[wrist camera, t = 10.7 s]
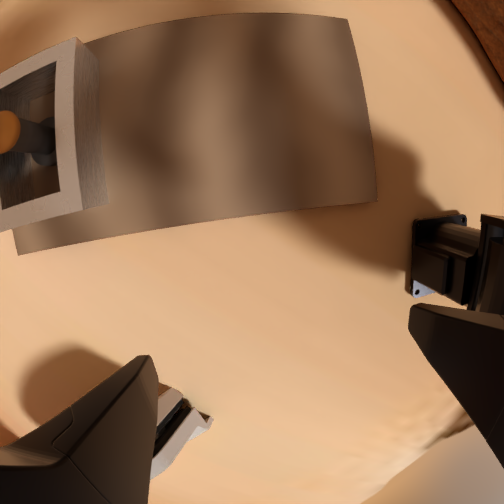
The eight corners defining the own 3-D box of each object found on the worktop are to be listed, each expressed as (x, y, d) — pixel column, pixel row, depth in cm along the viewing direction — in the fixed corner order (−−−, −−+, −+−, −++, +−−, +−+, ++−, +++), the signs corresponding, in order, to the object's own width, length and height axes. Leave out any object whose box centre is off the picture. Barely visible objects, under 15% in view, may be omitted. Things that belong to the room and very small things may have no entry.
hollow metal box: (99, 60, 14) (76, 36, 10) (109, 203, 17) (83, 209, 13) (19, 93, 13) (-12, 81, 10) (26, 224, 16) (-7, 234, 12)
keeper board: (342, 24, 16) (394, -28, 8) (370, 200, 20) (447, 213, 12) (13, 81, 14) (-49, 56, 6) (24, 252, 17) (-44, 286, 9)
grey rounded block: (115, 472, 23) (72, 520, 13) (87, 443, 24) (36, 484, 14) (217, 417, 22) (183, 490, 12) (180, 378, 23) (125, 436, 13)
